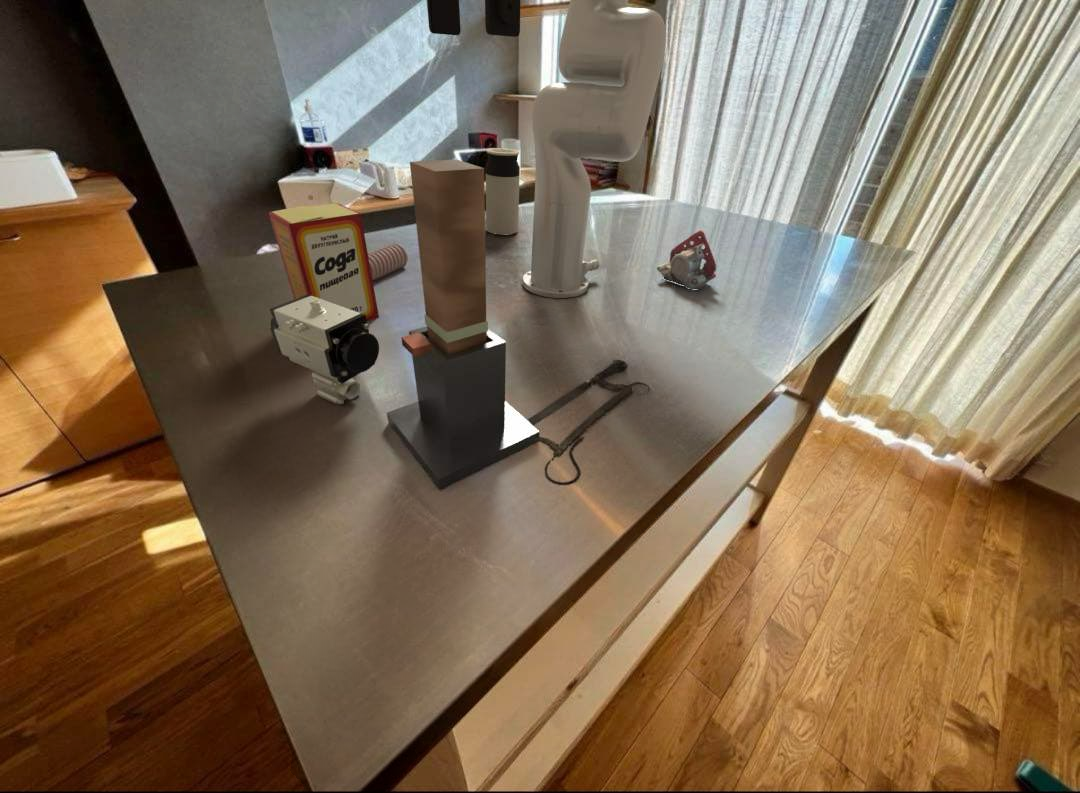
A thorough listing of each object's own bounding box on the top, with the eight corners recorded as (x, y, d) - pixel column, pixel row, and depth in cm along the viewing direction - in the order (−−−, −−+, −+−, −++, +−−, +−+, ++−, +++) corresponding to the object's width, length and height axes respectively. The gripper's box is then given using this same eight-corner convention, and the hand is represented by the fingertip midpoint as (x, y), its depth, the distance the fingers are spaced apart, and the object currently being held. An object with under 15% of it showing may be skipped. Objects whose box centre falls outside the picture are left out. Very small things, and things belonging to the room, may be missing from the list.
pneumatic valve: (322, 371, 56) (296, 281, 49) (390, 401, 52) (373, 308, 45) (283, 392, 52) (249, 298, 45) (354, 426, 48) (329, 329, 41)
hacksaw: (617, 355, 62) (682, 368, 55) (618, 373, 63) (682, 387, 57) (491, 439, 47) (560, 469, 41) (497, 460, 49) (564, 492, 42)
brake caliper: (730, 275, 87) (725, 233, 78) (697, 313, 87) (688, 276, 78) (686, 259, 94) (677, 219, 85) (655, 294, 93) (643, 258, 84)
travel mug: (516, 237, 107) (519, 154, 96) (484, 235, 107) (483, 151, 96) (518, 228, 113) (521, 149, 102) (488, 226, 113) (487, 147, 102)
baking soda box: (358, 303, 72) (337, 200, 63) (378, 317, 69) (360, 210, 59) (300, 319, 66) (267, 209, 57) (319, 335, 63) (287, 220, 54)
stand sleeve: (480, 388, 55) (477, 293, 47) (538, 441, 47) (546, 338, 40) (388, 423, 48) (368, 319, 41) (439, 490, 41) (427, 379, 34)
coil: (341, 274, 71) (410, 245, 84) (318, 266, 72) (391, 239, 86) (344, 300, 74) (411, 268, 87) (323, 291, 75) (392, 261, 88)
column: (466, 349, 45) (457, 159, 35) (488, 367, 42) (485, 168, 32) (429, 360, 43) (407, 161, 32) (450, 380, 40) (434, 171, 30)
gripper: (355, -268, 32) (392, 31, 43) (483, -403, 22) (491, 33, 33) (444, -230, 36) (458, 36, 47) (588, -329, 26) (565, 39, 37)
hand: (472, 34), depth 40 cm, fingers open, 9 cm apart
